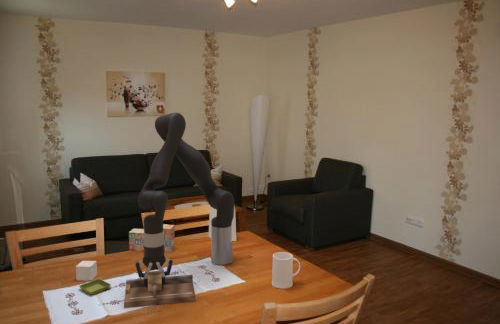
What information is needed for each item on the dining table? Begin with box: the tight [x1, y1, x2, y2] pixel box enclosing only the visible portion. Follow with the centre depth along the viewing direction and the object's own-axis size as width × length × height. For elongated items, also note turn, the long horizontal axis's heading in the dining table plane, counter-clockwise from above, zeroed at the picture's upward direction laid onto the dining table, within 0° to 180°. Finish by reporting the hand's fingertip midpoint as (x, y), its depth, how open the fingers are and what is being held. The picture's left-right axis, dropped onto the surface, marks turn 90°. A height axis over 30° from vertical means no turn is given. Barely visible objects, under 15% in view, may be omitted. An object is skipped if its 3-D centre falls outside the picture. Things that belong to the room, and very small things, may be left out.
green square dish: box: [78, 278, 112, 295], centre depth 154 cm, size 9×9×2 cm
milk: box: [208, 205, 237, 242], centre depth 211 cm, size 12×12×26 cm
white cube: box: [75, 260, 98, 282], centre depth 164 cm, size 6×6×6 cm
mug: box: [271, 251, 301, 290], centre depth 160 cm, size 12×8×12 cm
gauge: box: [148, 270, 162, 297], centre depth 148 cm, size 5×9×6 cm, turn 13°
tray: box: [123, 274, 196, 309], centre depth 149 cm, size 25×13×4 cm, turn 103°
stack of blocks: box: [128, 223, 176, 253], centre depth 196 cm, size 21×6×12 cm, turn 83°
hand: (154, 286), depth 150 cm, fingers closed on gauge, 5 cm apart
